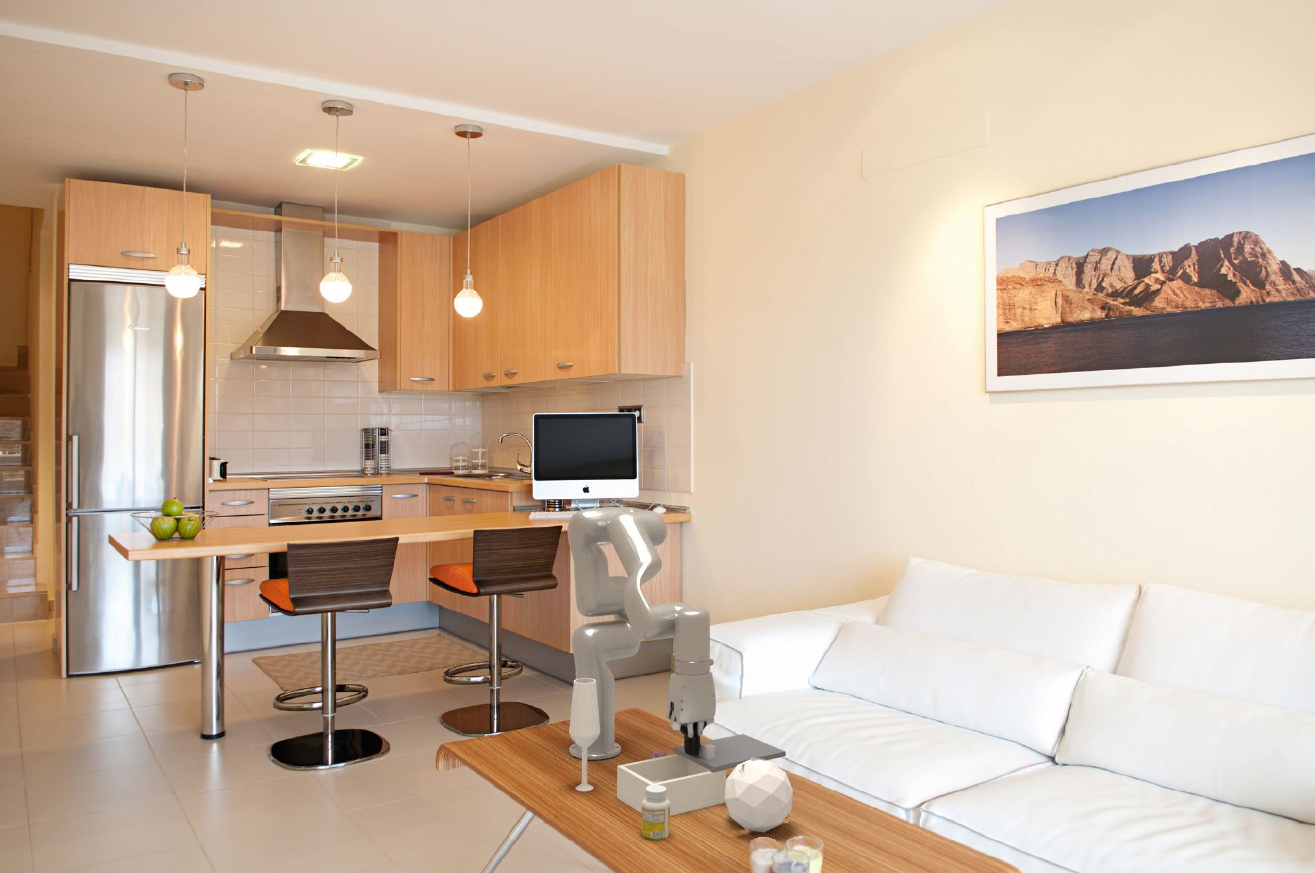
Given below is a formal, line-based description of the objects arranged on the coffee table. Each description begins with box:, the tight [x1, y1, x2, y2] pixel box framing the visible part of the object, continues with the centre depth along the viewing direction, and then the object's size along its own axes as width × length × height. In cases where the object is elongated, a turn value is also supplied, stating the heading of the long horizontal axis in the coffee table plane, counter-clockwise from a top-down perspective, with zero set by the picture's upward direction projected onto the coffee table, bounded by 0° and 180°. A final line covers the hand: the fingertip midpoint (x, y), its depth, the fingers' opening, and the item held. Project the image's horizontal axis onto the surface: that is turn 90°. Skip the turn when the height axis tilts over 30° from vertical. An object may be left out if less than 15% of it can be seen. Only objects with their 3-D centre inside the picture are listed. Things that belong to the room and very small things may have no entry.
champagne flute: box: [568, 678, 600, 792], centre depth 201 cm, size 7×7×24 cm
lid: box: [673, 733, 787, 772], centre depth 202 cm, size 15×19×4 cm
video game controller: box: [646, 748, 668, 760], centre depth 211 cm, size 10×5×7 cm, turn 169°
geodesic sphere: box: [724, 757, 794, 834], centre depth 182 cm, size 14×14×14 cm
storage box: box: [616, 753, 727, 817], centre depth 194 cm, size 14×18×8 cm
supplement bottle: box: [641, 785, 671, 841], centre depth 177 cm, size 5×5×10 cm
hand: (692, 753), depth 197 cm, fingers closed
